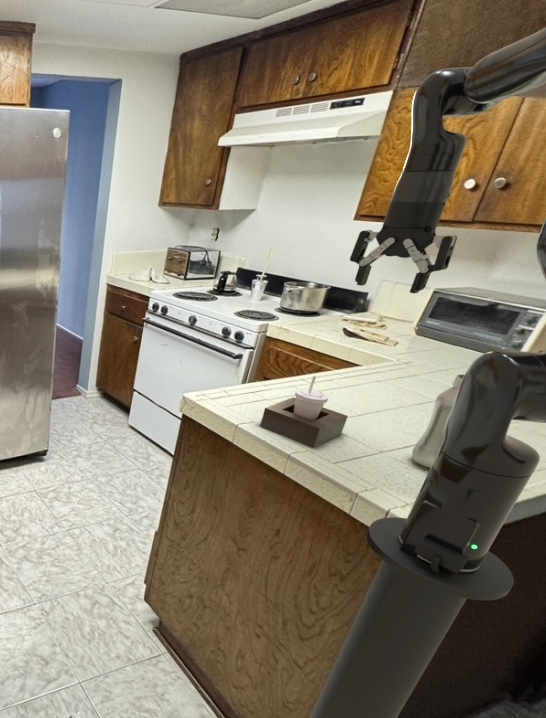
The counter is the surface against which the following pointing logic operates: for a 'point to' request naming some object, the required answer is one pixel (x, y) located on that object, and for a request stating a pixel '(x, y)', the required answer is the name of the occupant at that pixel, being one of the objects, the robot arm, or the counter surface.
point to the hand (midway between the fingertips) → (386, 288)
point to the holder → (303, 423)
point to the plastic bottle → (436, 426)
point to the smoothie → (309, 402)
